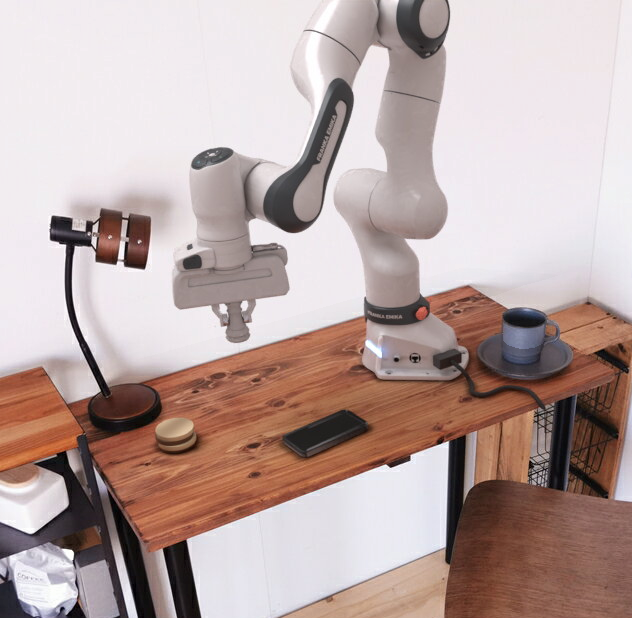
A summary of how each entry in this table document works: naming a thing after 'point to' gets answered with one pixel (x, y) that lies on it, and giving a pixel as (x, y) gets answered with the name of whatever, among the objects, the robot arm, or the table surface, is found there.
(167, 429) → the chip pile
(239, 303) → the rook chess piece
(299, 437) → the phone
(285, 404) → the table surface
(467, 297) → the table surface
